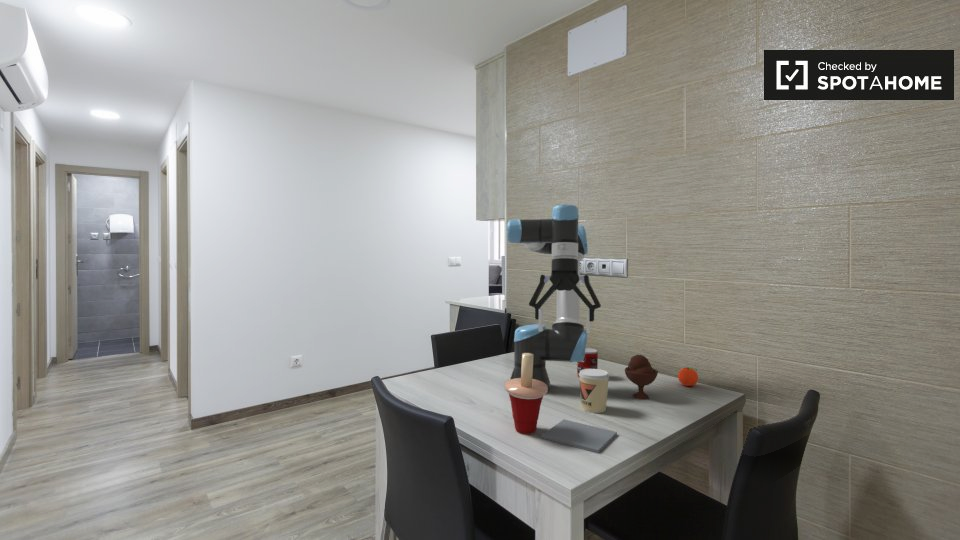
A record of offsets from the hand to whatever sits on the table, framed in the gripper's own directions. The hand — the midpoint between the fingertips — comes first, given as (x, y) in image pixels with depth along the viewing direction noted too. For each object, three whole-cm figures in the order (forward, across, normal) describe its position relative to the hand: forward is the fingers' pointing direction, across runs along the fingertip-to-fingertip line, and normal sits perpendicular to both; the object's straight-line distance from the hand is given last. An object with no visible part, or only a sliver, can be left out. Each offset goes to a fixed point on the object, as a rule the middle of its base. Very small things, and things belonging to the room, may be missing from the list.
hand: (564, 332), depth 128 cm
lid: (+16, -10, -4) cm, 19 cm away
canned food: (+22, 0, +58) cm, 62 cm away
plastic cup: (+28, -10, -3) cm, 30 cm away
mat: (+28, +5, -2) cm, 29 cm away
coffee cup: (+26, +6, +22) cm, 34 cm away
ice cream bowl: (+24, +21, +39) cm, 50 cm away
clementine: (+22, +38, +59) cm, 74 cm away
